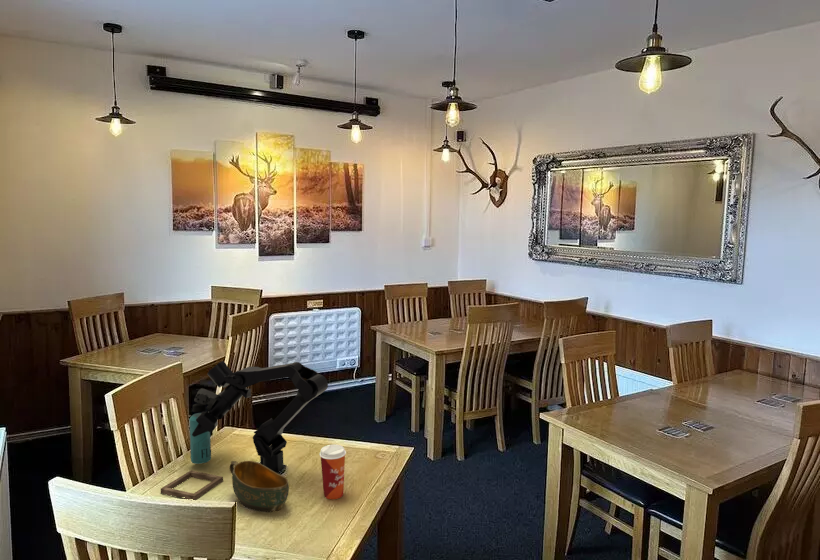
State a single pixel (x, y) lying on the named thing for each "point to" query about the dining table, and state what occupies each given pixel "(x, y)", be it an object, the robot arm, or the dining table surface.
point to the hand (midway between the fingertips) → (196, 431)
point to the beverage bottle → (199, 439)
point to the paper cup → (333, 470)
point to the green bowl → (258, 486)
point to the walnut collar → (168, 488)
